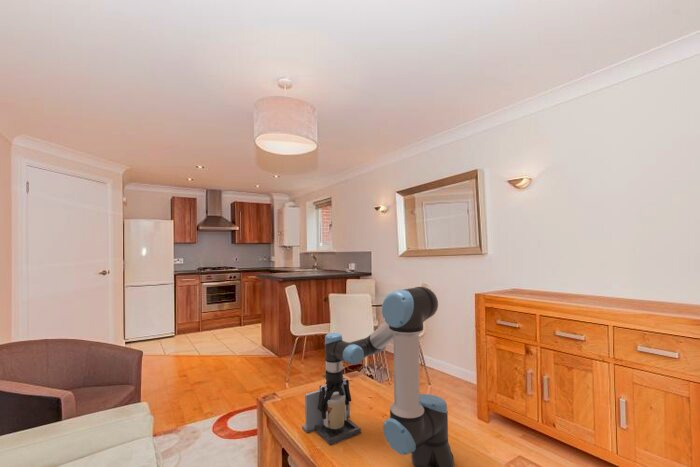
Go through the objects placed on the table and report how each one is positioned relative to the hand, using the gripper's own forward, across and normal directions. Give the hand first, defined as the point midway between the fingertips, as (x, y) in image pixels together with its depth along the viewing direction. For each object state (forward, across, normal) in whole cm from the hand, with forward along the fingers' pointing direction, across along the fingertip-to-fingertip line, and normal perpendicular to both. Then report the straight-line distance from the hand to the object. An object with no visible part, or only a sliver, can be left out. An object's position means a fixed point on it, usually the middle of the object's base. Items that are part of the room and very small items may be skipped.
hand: (335, 422), depth 146 cm
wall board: (+3, 0, -8) cm, 8 cm away
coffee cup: (+1, 0, 0) cm, 1 cm away
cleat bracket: (+3, 0, +1) cm, 3 cm away
